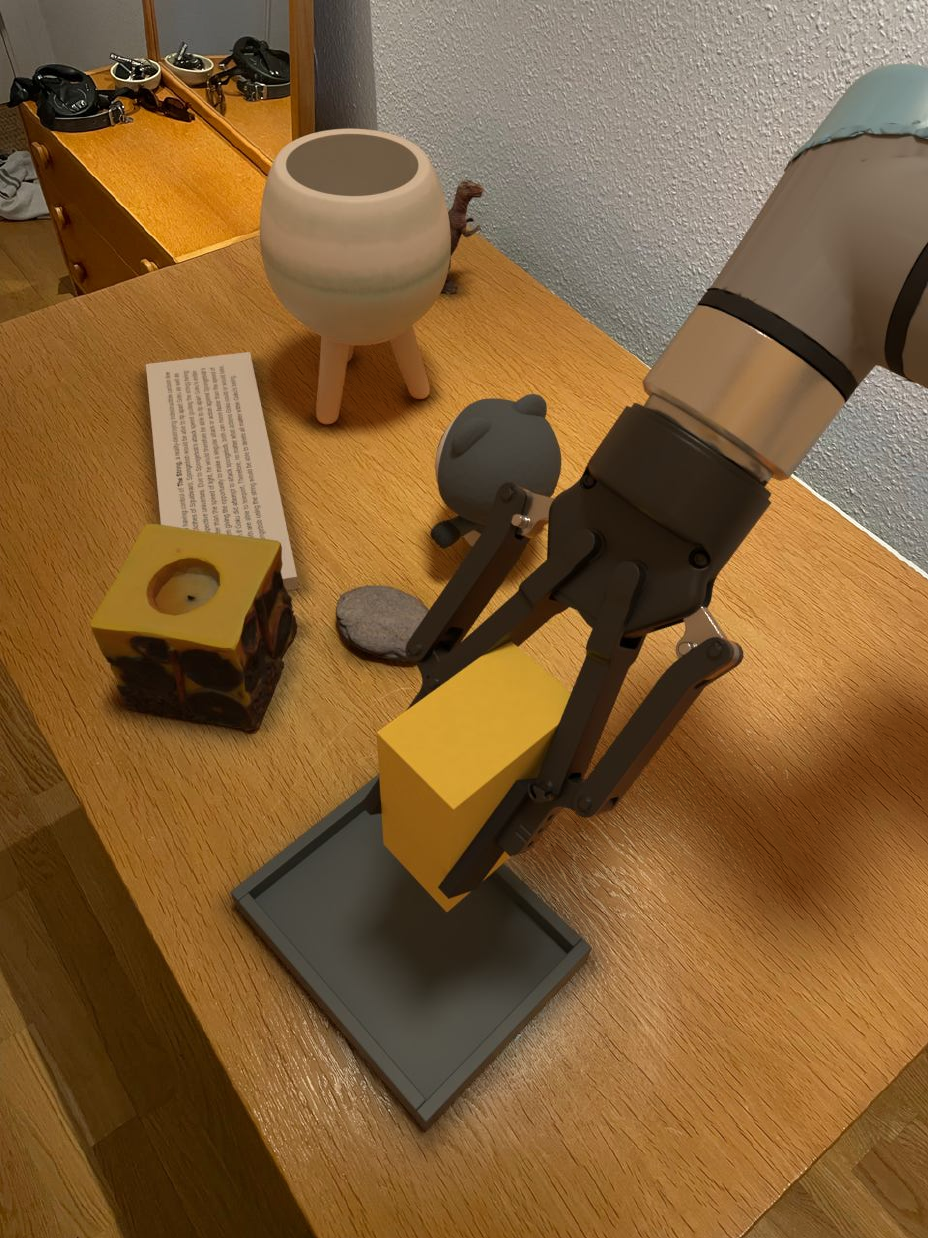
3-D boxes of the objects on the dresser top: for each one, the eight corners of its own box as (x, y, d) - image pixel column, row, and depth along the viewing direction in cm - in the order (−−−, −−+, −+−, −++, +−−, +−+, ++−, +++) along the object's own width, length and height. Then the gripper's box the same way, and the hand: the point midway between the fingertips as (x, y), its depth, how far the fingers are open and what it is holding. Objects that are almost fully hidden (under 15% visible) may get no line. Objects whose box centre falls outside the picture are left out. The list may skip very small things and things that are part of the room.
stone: (380, 579, 77) (379, 560, 76) (454, 634, 74) (455, 616, 72) (317, 625, 74) (315, 606, 72) (392, 685, 70) (392, 667, 69)
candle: (299, 627, 74) (286, 538, 66) (259, 736, 67) (239, 651, 60) (174, 606, 74) (146, 516, 67) (123, 711, 68) (85, 625, 60)
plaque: (296, 576, 75) (168, 597, 73) (298, 588, 76) (171, 610, 74) (249, 351, 93) (145, 363, 91) (251, 364, 94) (149, 376, 92)
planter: (291, 455, 86) (260, 221, 69) (271, 351, 96) (240, 123, 79) (462, 434, 89) (474, 204, 72) (426, 335, 99) (429, 112, 81)
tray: (587, 961, 58) (592, 947, 56) (425, 1132, 52) (425, 1123, 50) (396, 776, 66) (396, 759, 64) (235, 906, 59) (229, 891, 58)
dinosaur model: (487, 182, 96) (343, 206, 93) (488, 289, 104) (356, 313, 102) (475, 166, 98) (334, 189, 96) (477, 271, 107) (348, 295, 104)
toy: (503, 487, 85) (518, 344, 73) (578, 558, 80) (606, 416, 68) (395, 538, 80) (393, 394, 68) (467, 617, 75) (477, 476, 63)
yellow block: (556, 816, 51) (584, 702, 42) (446, 913, 47) (453, 809, 39) (492, 756, 53) (506, 636, 45) (383, 844, 50) (376, 732, 41)
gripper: (898, 571, 40) (583, 967, 45) (585, 371, 48) (348, 728, 53) (878, 544, 33) (513, 1010, 39) (520, 318, 41) (258, 730, 47)
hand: (418, 846), depth 46 cm, fingers closed on yellow block, 5 cm apart
